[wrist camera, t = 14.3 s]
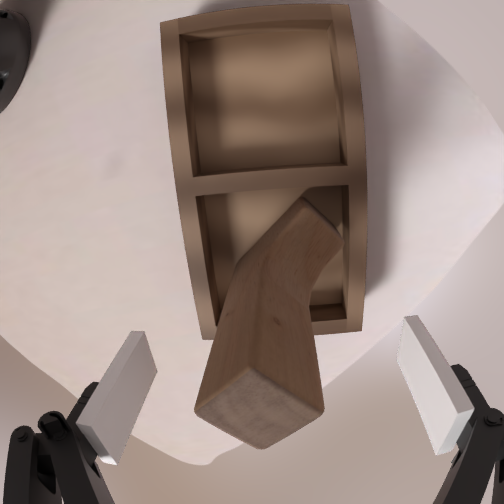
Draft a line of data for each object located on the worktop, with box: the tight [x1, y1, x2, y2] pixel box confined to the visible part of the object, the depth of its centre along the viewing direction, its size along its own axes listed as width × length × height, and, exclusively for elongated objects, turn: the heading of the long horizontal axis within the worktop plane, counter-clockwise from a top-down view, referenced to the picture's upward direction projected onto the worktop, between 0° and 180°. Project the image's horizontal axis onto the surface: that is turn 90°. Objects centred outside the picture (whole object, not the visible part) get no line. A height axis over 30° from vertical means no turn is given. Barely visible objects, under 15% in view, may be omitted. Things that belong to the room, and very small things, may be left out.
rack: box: [160, 4, 367, 340], centre depth 26 cm, size 28×15×4 cm, turn 5°
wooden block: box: [194, 197, 345, 449], centre depth 21 cm, size 9×4×18 cm, turn 139°
